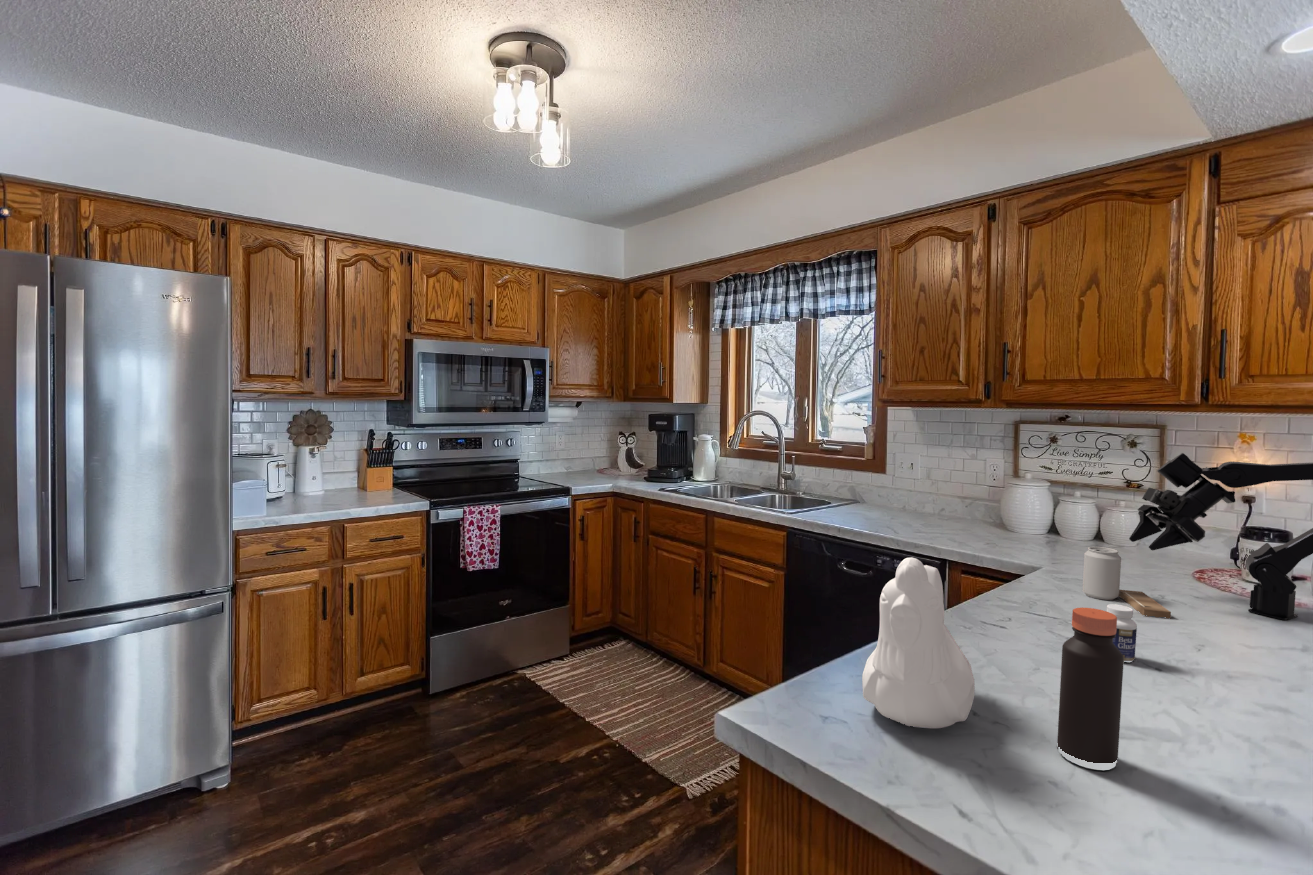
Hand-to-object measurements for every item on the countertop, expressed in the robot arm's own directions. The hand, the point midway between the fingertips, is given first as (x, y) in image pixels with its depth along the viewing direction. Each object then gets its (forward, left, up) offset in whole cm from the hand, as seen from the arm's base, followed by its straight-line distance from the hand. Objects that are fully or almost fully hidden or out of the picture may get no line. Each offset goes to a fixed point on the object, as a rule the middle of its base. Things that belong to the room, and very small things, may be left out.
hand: (1140, 544), depth 155 cm
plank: (-4, +5, -13) cm, 15 cm away
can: (+5, +6, -14) cm, 16 cm away
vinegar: (-39, +83, -14) cm, 93 cm away
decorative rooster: (-20, +93, -14) cm, 96 cm away
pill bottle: (-20, +43, -14) cm, 50 cm away
